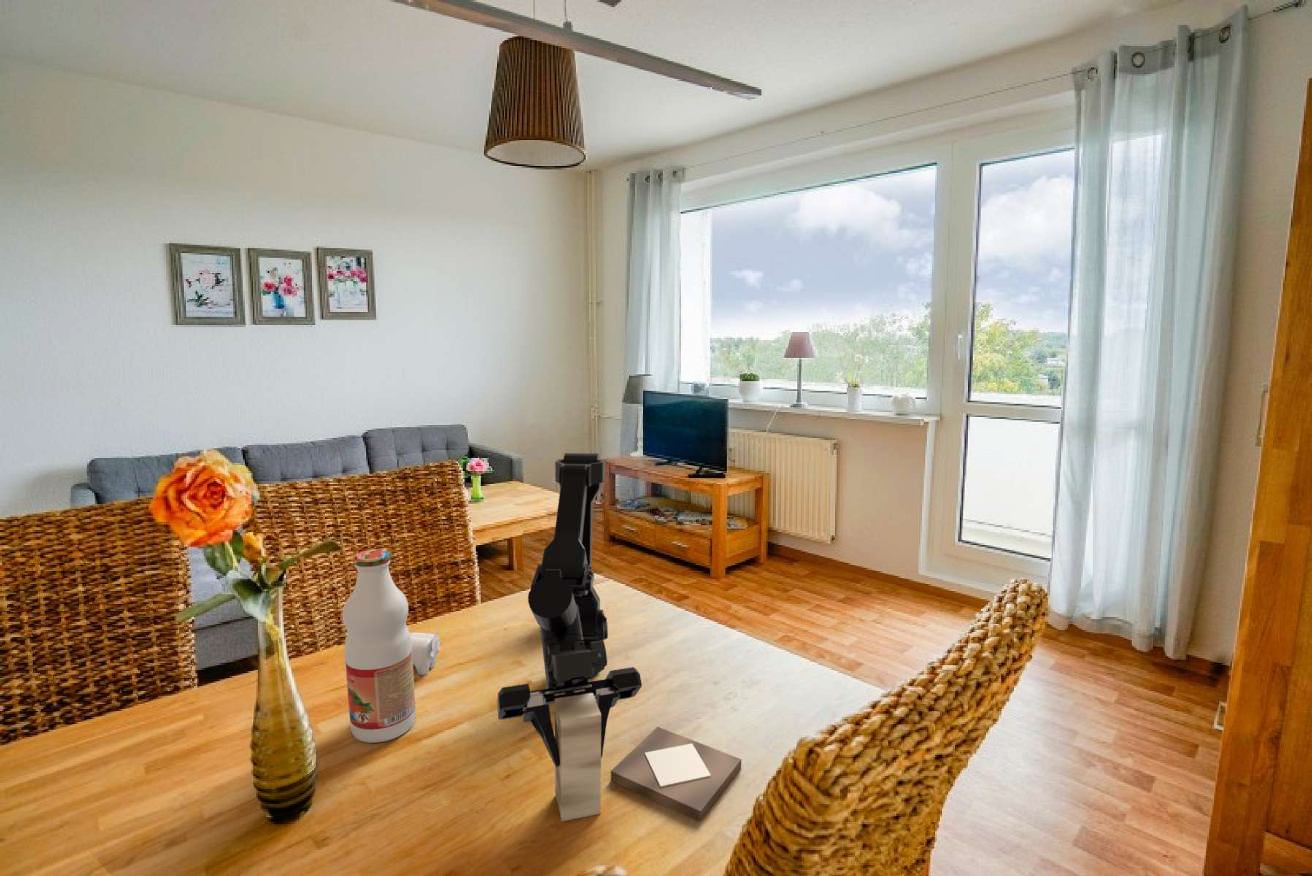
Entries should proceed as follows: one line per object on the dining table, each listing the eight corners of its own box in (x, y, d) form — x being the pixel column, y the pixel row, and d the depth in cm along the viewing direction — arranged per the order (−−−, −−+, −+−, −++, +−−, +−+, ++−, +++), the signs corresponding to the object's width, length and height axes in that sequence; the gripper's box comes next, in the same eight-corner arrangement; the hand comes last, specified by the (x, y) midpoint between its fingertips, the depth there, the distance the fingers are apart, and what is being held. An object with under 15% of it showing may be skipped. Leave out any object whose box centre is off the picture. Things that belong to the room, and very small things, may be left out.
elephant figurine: (453, 655, 125) (452, 620, 124) (427, 682, 116) (425, 644, 114) (416, 652, 126) (414, 616, 125) (387, 678, 117) (384, 640, 116)
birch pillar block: (555, 794, 88) (554, 698, 86) (592, 787, 90) (592, 693, 87) (561, 821, 84) (561, 721, 81) (600, 813, 85) (601, 714, 83)
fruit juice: (413, 739, 100) (402, 562, 95) (345, 749, 97) (330, 568, 93) (418, 704, 109) (408, 541, 104) (356, 713, 106) (343, 546, 101)
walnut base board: (610, 780, 91) (610, 769, 91) (657, 735, 101) (657, 725, 101) (700, 821, 84) (700, 809, 83) (741, 768, 94) (741, 758, 93)
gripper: (495, 630, 83) (506, 764, 75) (638, 611, 89) (663, 734, 81) (493, 658, 92) (502, 781, 84) (623, 639, 98) (644, 753, 89)
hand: (579, 762), depth 84 cm, fingers closed on birch pillar block, 5 cm apart
